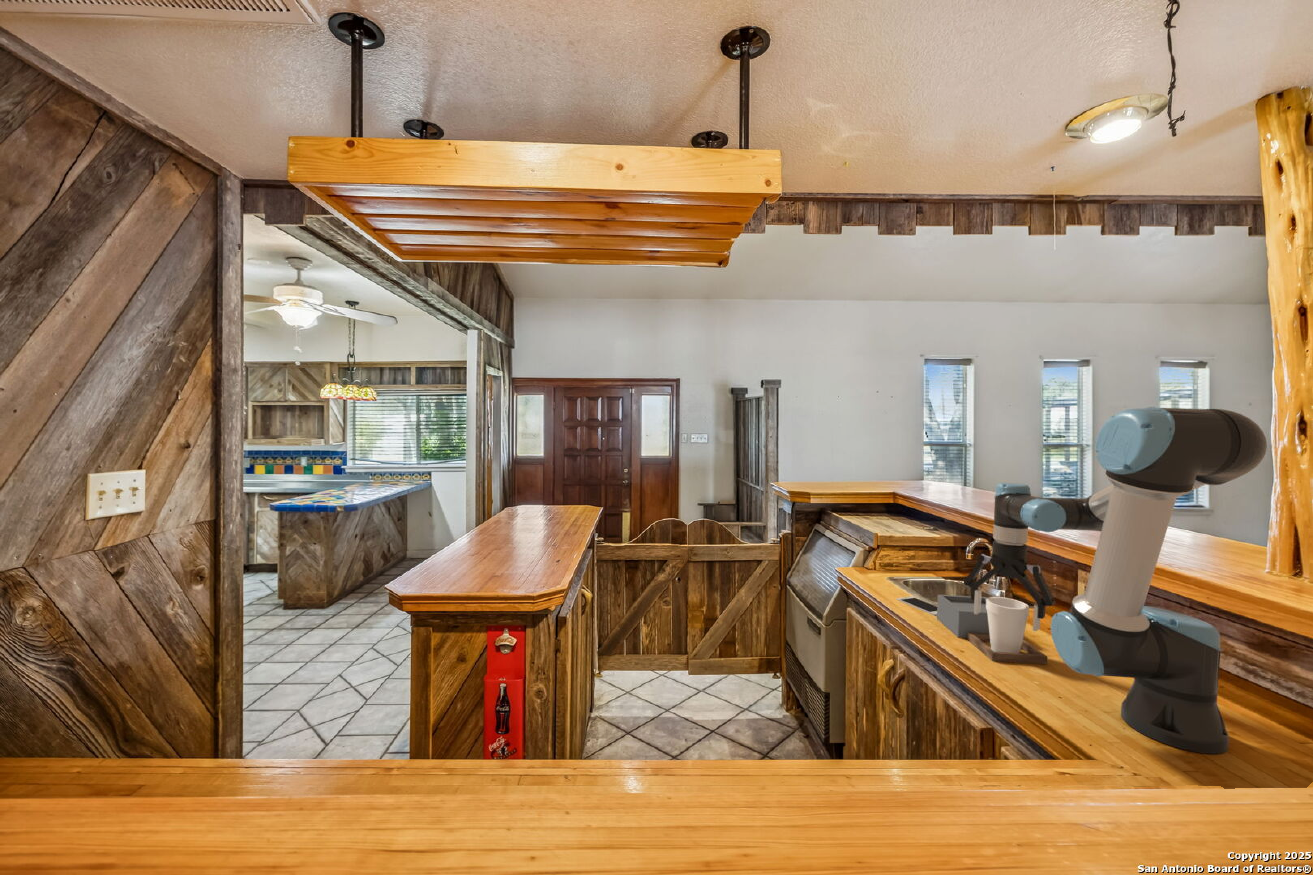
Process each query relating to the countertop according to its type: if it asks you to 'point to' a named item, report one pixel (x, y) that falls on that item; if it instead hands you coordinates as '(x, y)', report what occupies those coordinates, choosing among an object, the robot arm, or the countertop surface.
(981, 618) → the charcoal stand
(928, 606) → the smartphone
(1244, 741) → the countertop surface
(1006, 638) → the foam cup
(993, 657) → the walnut collar
